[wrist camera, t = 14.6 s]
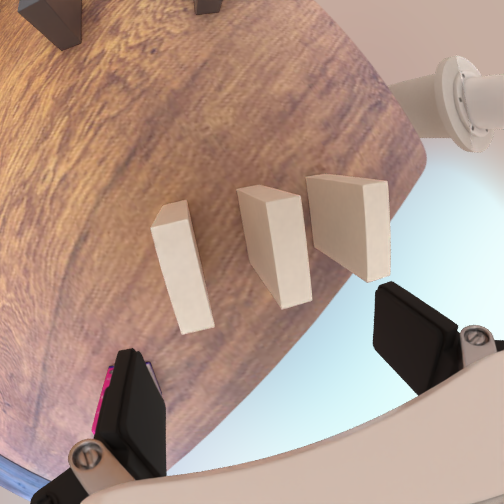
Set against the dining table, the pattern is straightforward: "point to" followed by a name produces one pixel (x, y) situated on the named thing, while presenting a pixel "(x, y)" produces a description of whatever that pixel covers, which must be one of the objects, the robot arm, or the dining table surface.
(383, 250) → the white book
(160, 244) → the white book
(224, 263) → the dining table surface
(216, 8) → the dark grey block
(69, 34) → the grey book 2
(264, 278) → the white book
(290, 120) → the dining table surface
